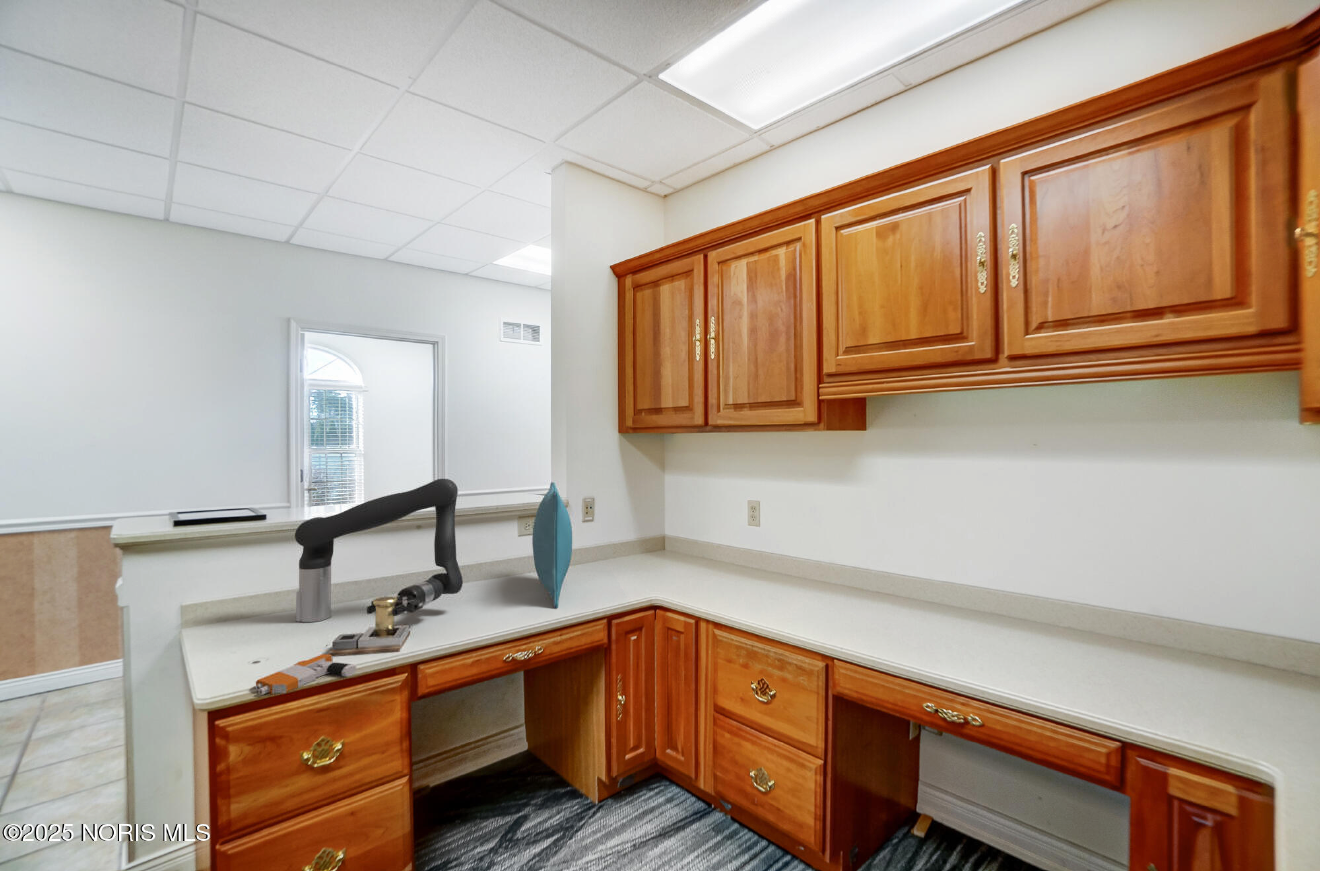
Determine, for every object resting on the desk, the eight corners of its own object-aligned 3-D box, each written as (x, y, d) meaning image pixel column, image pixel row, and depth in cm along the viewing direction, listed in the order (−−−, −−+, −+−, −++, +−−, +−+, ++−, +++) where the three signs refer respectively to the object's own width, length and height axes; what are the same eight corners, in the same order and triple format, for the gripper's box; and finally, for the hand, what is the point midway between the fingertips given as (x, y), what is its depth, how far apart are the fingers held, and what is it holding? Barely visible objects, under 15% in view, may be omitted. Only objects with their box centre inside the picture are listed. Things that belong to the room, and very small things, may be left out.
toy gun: (358, 660, 149) (319, 650, 155) (284, 692, 131) (244, 679, 138) (358, 673, 149) (320, 662, 155) (284, 707, 132) (244, 693, 138)
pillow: (532, 580, 244) (533, 481, 244) (568, 578, 247) (569, 481, 247) (531, 610, 202) (531, 491, 202) (575, 607, 205) (575, 490, 205)
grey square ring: (332, 650, 160) (332, 641, 160) (339, 643, 166) (339, 634, 166) (356, 649, 162) (356, 640, 162) (362, 641, 168) (362, 633, 168)
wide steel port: (358, 649, 162) (358, 640, 162) (369, 635, 173) (369, 627, 173) (400, 646, 164) (400, 637, 164) (408, 633, 175) (408, 624, 175)
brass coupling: (369, 644, 165) (370, 602, 165) (375, 637, 171) (376, 596, 171) (393, 643, 166) (394, 601, 166) (398, 636, 172) (399, 595, 173)
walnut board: (328, 656, 159) (328, 652, 159) (346, 637, 174) (346, 634, 174) (399, 651, 163) (399, 648, 163) (410, 633, 177) (410, 630, 177)
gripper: (396, 583, 184) (359, 596, 169) (436, 585, 181) (402, 600, 165) (396, 606, 184) (359, 622, 169) (436, 609, 181) (402, 626, 165)
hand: (380, 611), depth 167 cm, fingers open, 8 cm apart
